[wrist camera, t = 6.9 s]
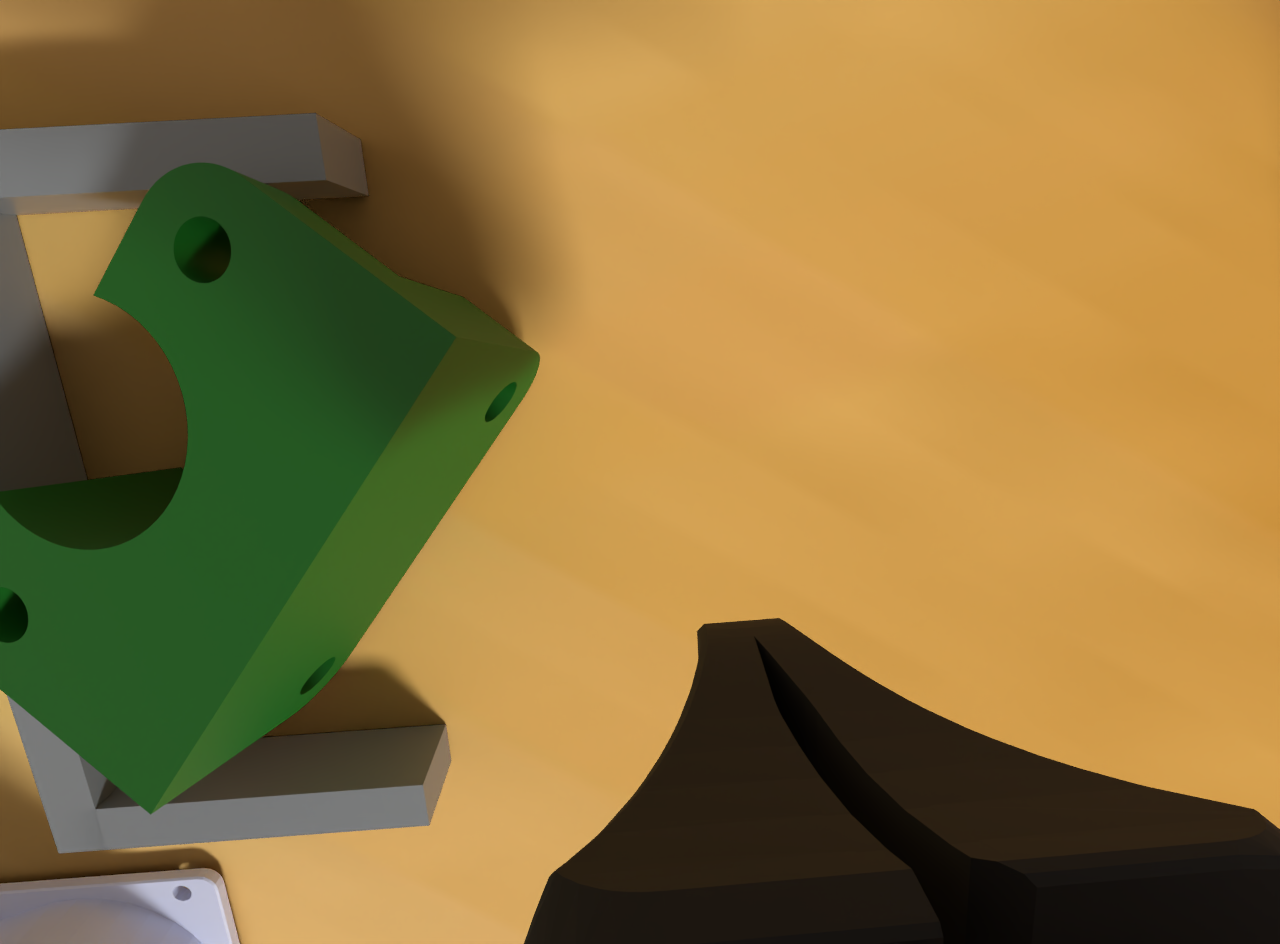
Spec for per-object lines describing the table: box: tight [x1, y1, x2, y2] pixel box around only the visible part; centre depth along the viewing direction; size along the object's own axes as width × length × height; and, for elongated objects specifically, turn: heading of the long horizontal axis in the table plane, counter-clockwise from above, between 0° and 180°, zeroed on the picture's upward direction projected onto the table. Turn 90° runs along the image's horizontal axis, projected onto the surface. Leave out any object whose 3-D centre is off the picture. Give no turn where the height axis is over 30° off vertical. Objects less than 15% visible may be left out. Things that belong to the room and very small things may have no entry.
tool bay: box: [0, 113, 451, 853], centre depth 17 cm, size 9×16×2 cm, turn 3°
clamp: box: [0, 163, 540, 815], centre depth 15 cm, size 12×6×9 cm, turn 138°
